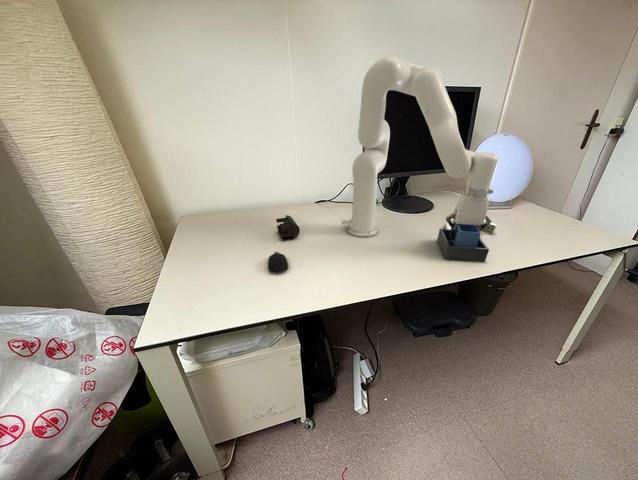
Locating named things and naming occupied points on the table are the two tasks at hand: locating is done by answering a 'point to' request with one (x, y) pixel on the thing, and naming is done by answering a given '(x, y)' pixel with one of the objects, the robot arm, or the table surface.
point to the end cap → (288, 228)
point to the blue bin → (466, 236)
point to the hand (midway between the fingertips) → (462, 238)
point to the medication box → (490, 228)
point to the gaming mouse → (277, 263)
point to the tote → (461, 249)
